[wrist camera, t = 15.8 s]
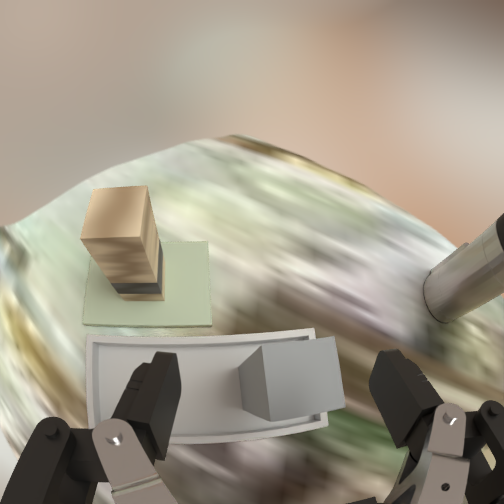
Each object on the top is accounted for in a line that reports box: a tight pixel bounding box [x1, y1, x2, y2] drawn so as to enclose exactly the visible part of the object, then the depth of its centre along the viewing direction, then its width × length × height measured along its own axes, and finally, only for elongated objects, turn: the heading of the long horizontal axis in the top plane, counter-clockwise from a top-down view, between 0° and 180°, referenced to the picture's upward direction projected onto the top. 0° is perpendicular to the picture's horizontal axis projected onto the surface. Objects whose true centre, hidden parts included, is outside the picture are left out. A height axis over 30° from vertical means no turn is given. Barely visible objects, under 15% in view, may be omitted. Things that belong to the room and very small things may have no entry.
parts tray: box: [86, 328, 329, 444], centre depth 26 cm, size 26×12×3 cm, turn 96°
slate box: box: [238, 336, 345, 422], centre depth 22 cm, size 5×5×14 cm
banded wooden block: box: [80, 186, 165, 301], centre depth 26 cm, size 5×5×14 cm
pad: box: [83, 241, 212, 328], centre depth 32 cm, size 16×11×1 cm
